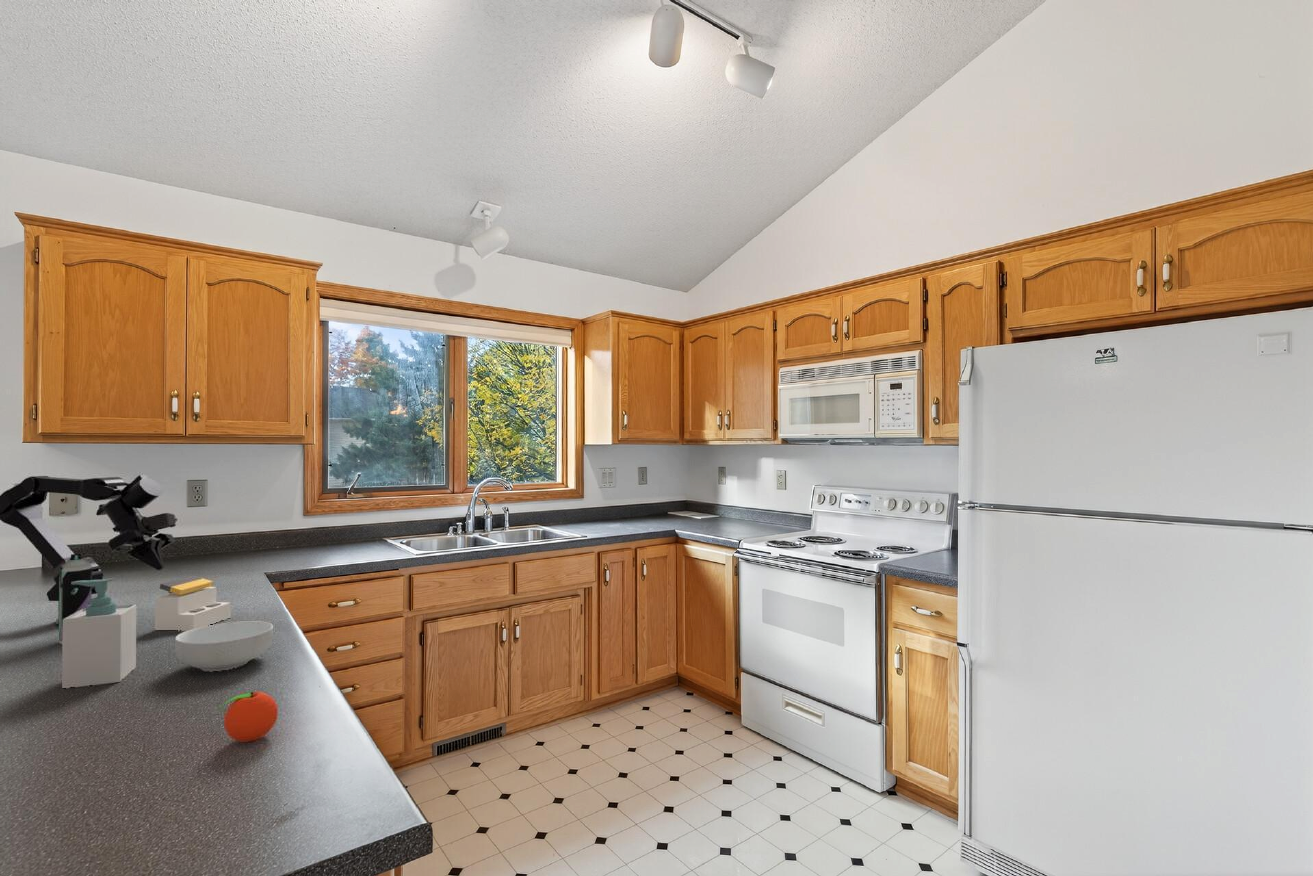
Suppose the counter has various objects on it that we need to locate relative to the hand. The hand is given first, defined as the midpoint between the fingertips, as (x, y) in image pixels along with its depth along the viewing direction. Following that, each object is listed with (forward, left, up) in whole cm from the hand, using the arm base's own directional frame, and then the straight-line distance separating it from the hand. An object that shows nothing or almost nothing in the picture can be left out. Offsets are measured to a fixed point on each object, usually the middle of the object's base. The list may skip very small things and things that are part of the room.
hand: (161, 569), depth 161 cm
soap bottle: (+41, -13, -14) cm, 45 cm away
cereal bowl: (+49, +6, -14) cm, 51 cm away
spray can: (+5, -16, -14) cm, 22 cm away
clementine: (+91, +2, -14) cm, 92 cm away
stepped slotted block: (+7, +6, -14) cm, 17 cm away
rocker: (+6, +4, -5) cm, 9 cm away
